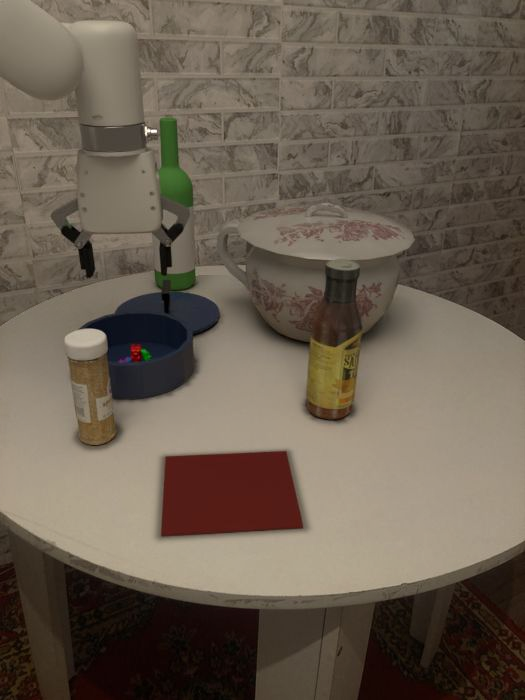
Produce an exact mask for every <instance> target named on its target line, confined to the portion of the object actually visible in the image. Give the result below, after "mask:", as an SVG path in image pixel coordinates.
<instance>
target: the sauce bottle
mask: <svg viewBox="0 0 525 700" xmlns="http://www.w3.org/2000/svg"><path fill="white" fill-rule="evenodd" d="M325 275H326V285H325V292H324V298H325V299H324V300H323V301H322V303H321V304H320V305H319V306H318V307H317V309H316V311H315V313H314V317H313V326H312V333H311V339H310V342H309V352H308V365H307V367H308V368H307V379H306V391H305V392H306V393H305V396H306V402H305V403H306V407H307V410H308V411H309V413H311V414H312V415H314V416H315V417H317V418H321V419H326V420H339V419H342V418H344V417H346V416H348V415H349V414H350V412H352V408H353V403H354V401H355V395H356V394H355V393H356V386H357V378H358V369H359V361H360V355H361V344H362V336H363V334H362V328H363V327H362V323H361V320H360V316H359V312H358V308H357V304H356V287H357V279H358V278H359V275H360V265H359V264H357V263H356V262H353V261H350V260H342V259H339V260H331V261H328V262H327V263H326V266H325Z"/></svg>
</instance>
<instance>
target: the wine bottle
mask: <svg viewBox="0 0 525 700" xmlns="http://www.w3.org/2000/svg"><path fill="white" fill-rule="evenodd" d="M159 134H160V135H159V136H160V137H159V139H160V140H159V141H160V142H159V143H160V161H161V165H160V167H159V168H158V173H159V180H160V187H161V195H162V196H164V197H166V198H168V199H171V200H173V201H175V202H177V203H179V204H181V205H183V206H185V207H187V208H189V209H190V212H191V214H190V217H189V219H188V221H187V223H186V225H185V227H184V229H183V232H182V233H181V234H180V235H179V236H178V237H177V238H176V239H175V240H174V241H173V243H172V245H171V255H172V267H167V276H163V275H161V266H160V253H159V246H160V241H159V240H158V239H157V238H156V237H155V236H154V234H153V233H151V238H152V239H151V240H152V253H153V254H152V255H153V256H152V257H153V268H154V281H155V283H156V285H157V286H158V287H159V288H161V289H162V286H163V280H171V291H180V290H181V291H182V290H186V289H188V288H191V287H192V286H193V285H194V284H195V282H196V246H195V245H196V243H195V215H194V214H195V211H194V210H195V207H194V188H193V182H192V180H191V178H190V176H189V175H188V173H187V172H186V171H184V170H183V168H181V166H180V158H179V137H178V136H179V135H178V119H177V118H175V117H160V118H159ZM177 218H178V217H177V215H175V214H173V213H171V212H169V211H167V210H164V209H163V219H162V220H161V222H162V223H163V224H164V226H165V227H166V228H167V229H168V230H169V229H170V228H171V227H172V226H173V224H174V223H175V222H176V220H177Z"/></svg>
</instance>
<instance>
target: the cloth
mask: <svg viewBox="0 0 525 700" xmlns="http://www.w3.org/2000/svg"><path fill="white" fill-rule="evenodd" d="M163 475H164V476H163V492H162V494H163V496H162V511H161V512H162V513H161V526H160V527H161V529H160V536H161V537H172V536H175V537H177V536H191V535H192V536H193V535H209V534H224V533H241V532H242V533H243V532H260V531H274V530H275V531H277V530H291V529H293V530H294V529H304V524H303V520H302V515H301V509H300V506H299V501H298V497H297V492H296V488H295V484H294V480H293V474H292V469H291V466H290V462H289V457H288V453H287V451H286V450H277V451H256V452H236V453H234V452H233V453H232V452H231V453H212V454H192V455H189V454H188V455H167V456H165V459H164V474H163Z"/></svg>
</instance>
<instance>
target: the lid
mask: <svg viewBox="0 0 525 700" xmlns="http://www.w3.org/2000/svg"><path fill="white" fill-rule="evenodd" d="M126 311H153V312H159V313H166V314H170V315H172V316H175V317H177V318H179V319H182V320H184V321H185V322H186V323H187V324H188V325H189V326H190V327H191V328H192V330H193V335H195V334H198V333H200V332H203V331H205V330H207V329H210V328H211V327H212V326H213V325H215V324H216V323H217V321H218V320H219V318H220V308H219V307H218V305H217V304H216V302H214V301H213V300H212V299H210V298H208V297H206V296H203V295H200V294H196V293H191V292H184V291H172V290H171V280H163V286H162V288H161V291H158V292H151V293H146V294H141V295H138V296H135V297H132V298H130V299H127V300H125V301H124V302H122V303H121V304H120V305H118V307H116V309H115V310H114V314H115V313H121V312H126Z"/></svg>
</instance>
